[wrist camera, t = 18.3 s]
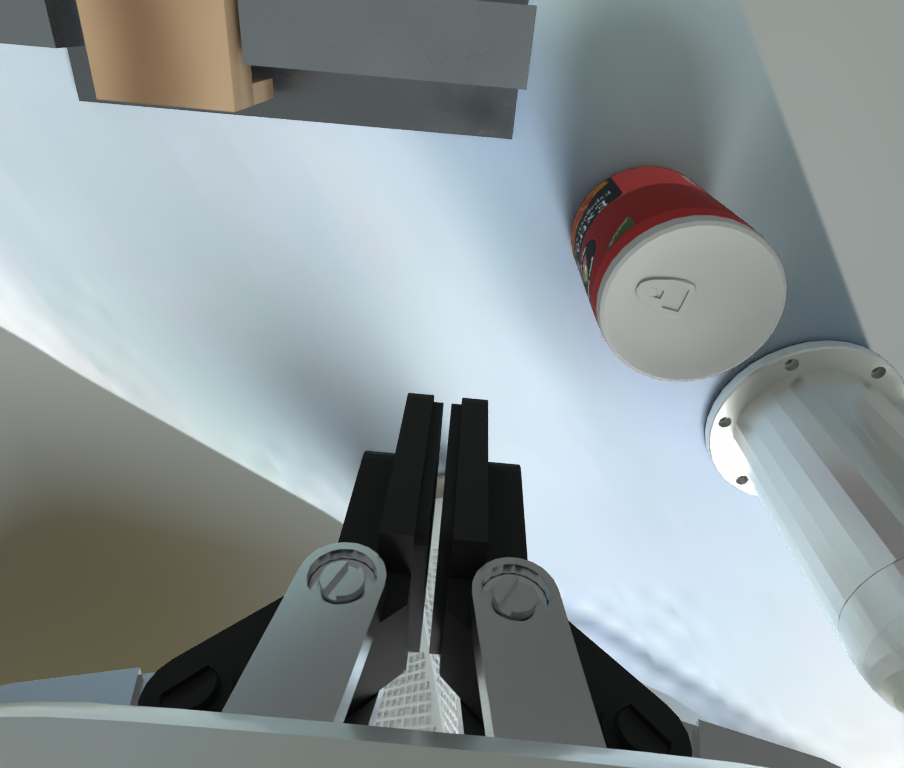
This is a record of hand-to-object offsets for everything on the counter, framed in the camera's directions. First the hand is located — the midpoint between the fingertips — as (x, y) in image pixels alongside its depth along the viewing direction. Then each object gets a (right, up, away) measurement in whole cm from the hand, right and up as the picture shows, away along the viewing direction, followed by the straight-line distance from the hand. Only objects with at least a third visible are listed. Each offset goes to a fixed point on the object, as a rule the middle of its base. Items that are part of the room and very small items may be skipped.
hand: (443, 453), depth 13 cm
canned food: (+11, +11, +23) cm, 27 cm away
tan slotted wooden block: (-12, +19, +16) cm, 28 cm away
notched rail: (-8, +20, +18) cm, 28 cm away
